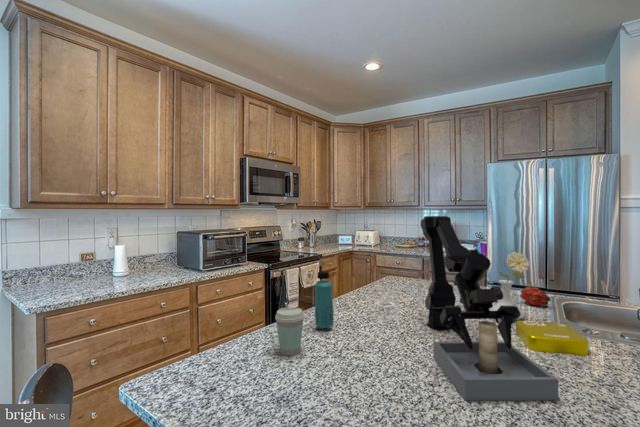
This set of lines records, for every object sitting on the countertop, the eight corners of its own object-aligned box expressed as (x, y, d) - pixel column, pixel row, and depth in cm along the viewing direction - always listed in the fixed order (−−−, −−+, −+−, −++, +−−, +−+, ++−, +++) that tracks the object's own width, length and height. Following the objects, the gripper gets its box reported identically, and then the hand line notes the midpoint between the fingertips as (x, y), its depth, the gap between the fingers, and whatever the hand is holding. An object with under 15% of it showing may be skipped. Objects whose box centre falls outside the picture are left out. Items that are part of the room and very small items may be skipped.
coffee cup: (308, 347, 98) (308, 308, 98) (297, 360, 90) (297, 316, 90) (283, 344, 101) (282, 305, 101) (270, 355, 93) (269, 314, 93)
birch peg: (480, 370, 83) (479, 320, 82) (498, 375, 80) (497, 322, 80) (478, 377, 79) (477, 324, 79) (496, 382, 77) (496, 328, 77)
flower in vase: (491, 320, 119) (490, 252, 119) (487, 311, 129) (487, 249, 129) (532, 325, 114) (532, 254, 114) (525, 315, 125) (525, 250, 124)
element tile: (529, 351, 94) (529, 335, 94) (514, 332, 108) (514, 318, 108) (591, 357, 90) (591, 340, 90) (566, 336, 104) (566, 322, 104)
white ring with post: (381, 301, 148) (381, 292, 148) (398, 303, 143) (398, 294, 143) (372, 305, 141) (372, 296, 141) (389, 308, 136) (389, 299, 136)
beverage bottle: (332, 332, 109) (331, 273, 109) (312, 331, 111) (312, 273, 110) (335, 326, 116) (334, 270, 115) (316, 324, 117) (316, 269, 117)
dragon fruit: (521, 304, 144) (548, 316, 133) (511, 295, 141) (539, 306, 130) (530, 288, 145) (559, 299, 134) (521, 279, 141) (550, 289, 131)
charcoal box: (433, 358, 90) (433, 341, 90) (506, 357, 90) (506, 341, 90) (464, 400, 70) (464, 379, 70) (558, 400, 70) (558, 379, 70)
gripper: (443, 275, 84) (461, 334, 73) (516, 274, 83) (545, 333, 72) (433, 297, 92) (448, 353, 81) (500, 296, 91) (524, 353, 80)
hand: (490, 348), depth 78 cm, fingers open, 9 cm apart
